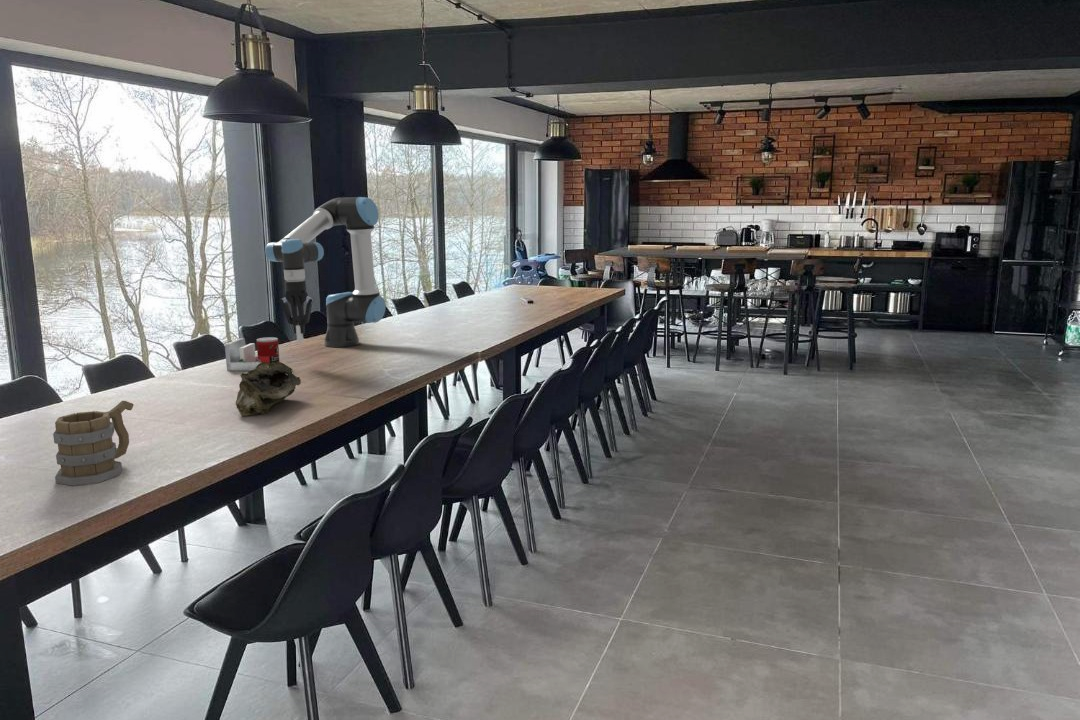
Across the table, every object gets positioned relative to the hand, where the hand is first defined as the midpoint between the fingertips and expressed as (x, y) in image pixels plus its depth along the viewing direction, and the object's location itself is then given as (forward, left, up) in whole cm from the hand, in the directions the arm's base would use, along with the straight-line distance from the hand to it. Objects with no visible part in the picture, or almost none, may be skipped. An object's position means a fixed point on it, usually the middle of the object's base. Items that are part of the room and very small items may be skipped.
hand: (300, 341), depth 295 cm
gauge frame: (+1, -19, -10) cm, 22 cm away
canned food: (+1, -13, -10) cm, 16 cm away
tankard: (+121, -4, -10) cm, 121 cm away
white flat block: (+2, -21, -10) cm, 23 cm away
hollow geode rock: (+61, +12, -10) cm, 63 cm away
